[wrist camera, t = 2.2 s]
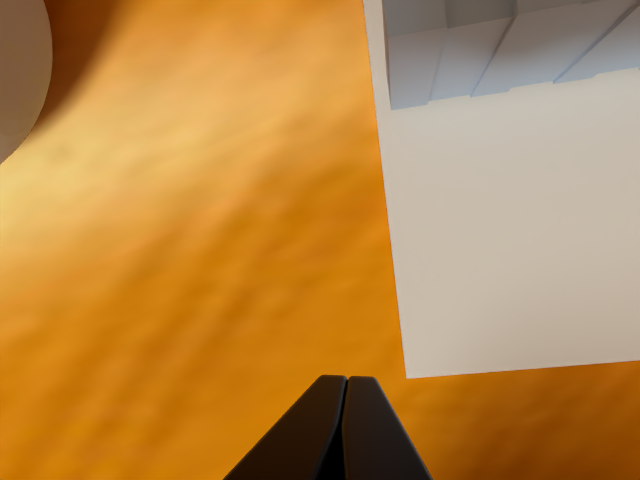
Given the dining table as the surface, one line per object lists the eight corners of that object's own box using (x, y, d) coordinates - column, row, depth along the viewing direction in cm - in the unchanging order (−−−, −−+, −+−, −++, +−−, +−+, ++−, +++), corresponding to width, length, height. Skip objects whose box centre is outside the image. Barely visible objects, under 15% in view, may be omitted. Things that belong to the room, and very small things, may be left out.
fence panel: (682, 24, 17) (883, -120, 10) (687, 62, 17) (892, -55, 10) (386, 74, 19) (380, -21, 11) (391, 110, 19) (388, 37, 11)
